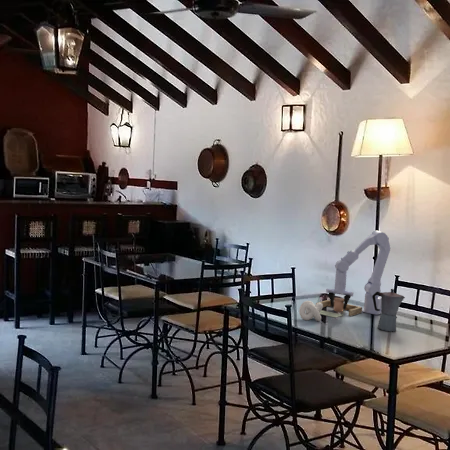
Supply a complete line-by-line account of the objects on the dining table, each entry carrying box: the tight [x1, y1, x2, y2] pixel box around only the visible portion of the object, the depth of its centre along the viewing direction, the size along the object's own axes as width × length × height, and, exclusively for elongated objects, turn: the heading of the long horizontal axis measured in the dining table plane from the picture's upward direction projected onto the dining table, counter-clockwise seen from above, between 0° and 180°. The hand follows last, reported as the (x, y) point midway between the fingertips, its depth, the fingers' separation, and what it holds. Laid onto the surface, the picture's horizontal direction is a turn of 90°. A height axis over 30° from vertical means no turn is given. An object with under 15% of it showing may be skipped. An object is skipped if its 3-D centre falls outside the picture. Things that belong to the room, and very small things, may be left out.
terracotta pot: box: [333, 297, 344, 313], centre depth 334 cm, size 6×6×6 cm
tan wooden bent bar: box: [315, 299, 363, 317], centre depth 334 cm, size 21×13×3 cm, turn 51°
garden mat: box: [320, 310, 343, 318], centre depth 325 cm, size 14×8×1 cm, turn 51°
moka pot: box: [372, 288, 406, 333], centre depth 299 cm, size 10×15×20 cm, turn 89°
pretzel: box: [298, 300, 324, 322], centre depth 309 cm, size 11×12×9 cm
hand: (338, 307), depth 334 cm, fingers open, 6 cm apart
